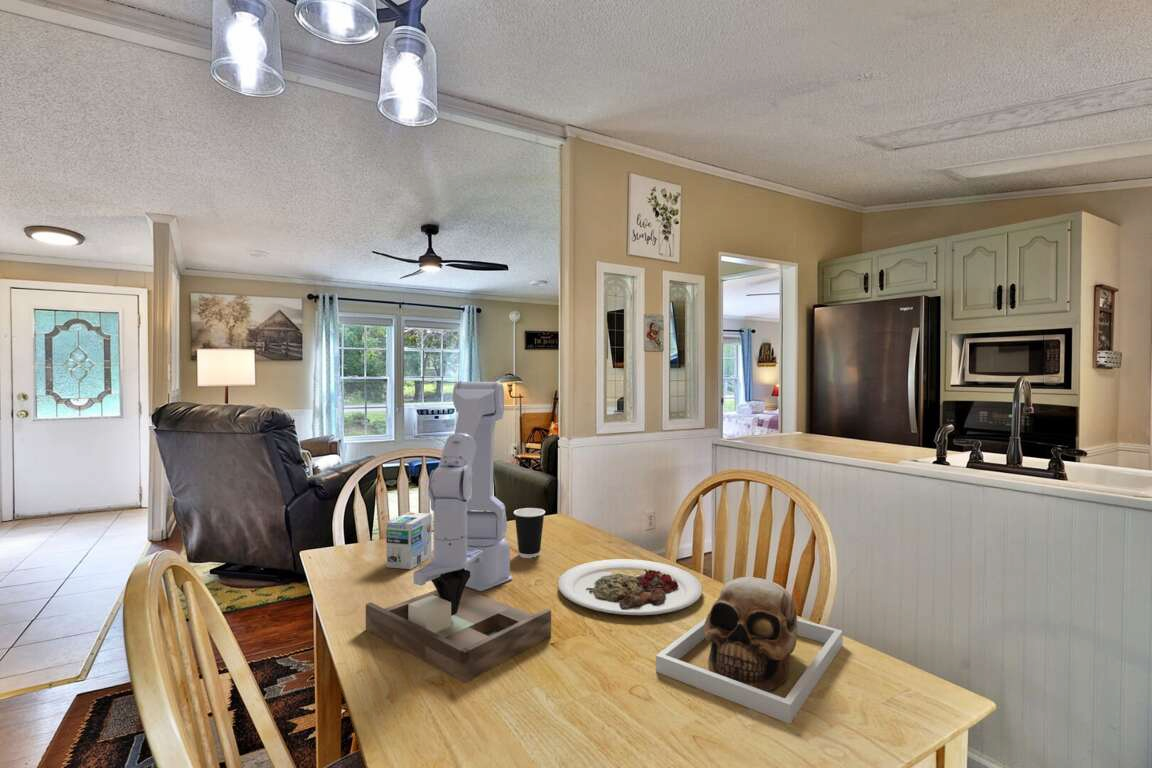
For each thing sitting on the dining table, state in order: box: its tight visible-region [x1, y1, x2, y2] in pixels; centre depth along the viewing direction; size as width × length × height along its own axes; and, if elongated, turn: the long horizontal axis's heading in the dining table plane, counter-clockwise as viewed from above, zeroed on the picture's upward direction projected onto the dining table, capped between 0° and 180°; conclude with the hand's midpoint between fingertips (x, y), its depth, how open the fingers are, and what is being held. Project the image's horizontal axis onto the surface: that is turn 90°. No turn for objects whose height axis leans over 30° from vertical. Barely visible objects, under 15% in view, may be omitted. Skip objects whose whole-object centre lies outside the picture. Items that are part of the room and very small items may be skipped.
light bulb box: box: [385, 511, 433, 570], centre depth 133 cm, size 11×7×11 cm, turn 168°
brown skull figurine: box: [704, 576, 798, 693], centre depth 86 cm, size 16×18×14 cm
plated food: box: [557, 558, 703, 616], centre depth 116 cm, size 30×30×3 cm
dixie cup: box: [513, 507, 546, 559], centre depth 138 cm, size 8×8×11 cm
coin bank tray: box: [655, 616, 843, 725], centre depth 88 cm, size 27×20×2 cm
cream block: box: [408, 595, 451, 633], centre depth 93 cm, size 5×5×4 cm
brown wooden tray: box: [365, 588, 552, 684], centre depth 96 cm, size 19×27×4 cm
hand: (450, 613), depth 96 cm, fingers closed
